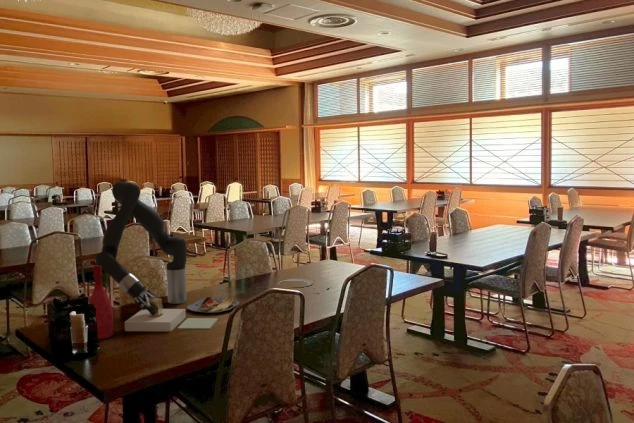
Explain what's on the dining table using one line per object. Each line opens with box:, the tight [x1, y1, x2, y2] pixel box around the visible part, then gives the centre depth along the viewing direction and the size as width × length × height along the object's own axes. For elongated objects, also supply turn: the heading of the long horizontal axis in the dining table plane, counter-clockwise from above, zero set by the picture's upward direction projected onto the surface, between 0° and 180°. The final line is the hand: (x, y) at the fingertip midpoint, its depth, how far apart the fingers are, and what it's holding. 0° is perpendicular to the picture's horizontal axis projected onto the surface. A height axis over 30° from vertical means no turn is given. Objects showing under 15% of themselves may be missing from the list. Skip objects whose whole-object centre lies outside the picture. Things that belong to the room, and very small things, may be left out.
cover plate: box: [124, 308, 187, 332], centre depth 240 cm, size 20×20×4 cm
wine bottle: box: [89, 264, 115, 340], centre depth 224 cm, size 10×10×30 cm
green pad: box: [177, 317, 219, 330], centre depth 239 cm, size 14×14×1 cm
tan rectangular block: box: [149, 298, 163, 317], centre depth 240 cm, size 5×4×11 cm
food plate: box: [186, 296, 240, 314], centre depth 265 cm, size 25×23×4 cm
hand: (158, 311), depth 240 cm, fingers open, 8 cm apart
